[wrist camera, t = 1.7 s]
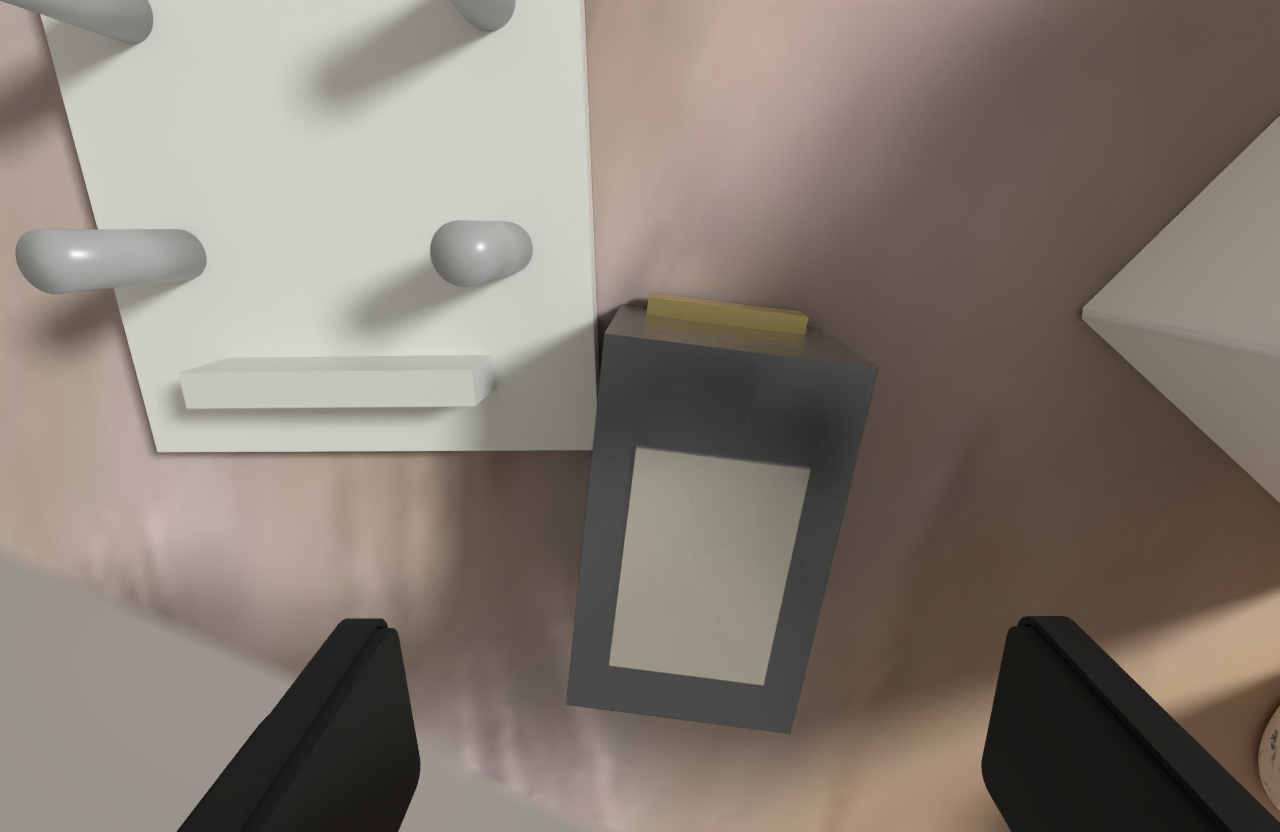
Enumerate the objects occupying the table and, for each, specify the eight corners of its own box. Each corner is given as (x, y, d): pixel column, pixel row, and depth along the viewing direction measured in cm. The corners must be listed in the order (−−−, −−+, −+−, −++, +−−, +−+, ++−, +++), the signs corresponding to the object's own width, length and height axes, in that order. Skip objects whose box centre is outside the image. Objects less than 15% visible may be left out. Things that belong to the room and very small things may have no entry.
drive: (760, 610, 22) (791, 736, 16) (590, 588, 22) (565, 707, 16) (822, 311, 18) (885, 346, 13) (624, 286, 18) (606, 311, 13)
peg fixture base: (601, 439, 20) (581, 507, 15) (181, 441, 20) (32, 507, 16) (572, -285, 14) (525, -539, 10) (5, -251, 15) (-302, -472, 10)
